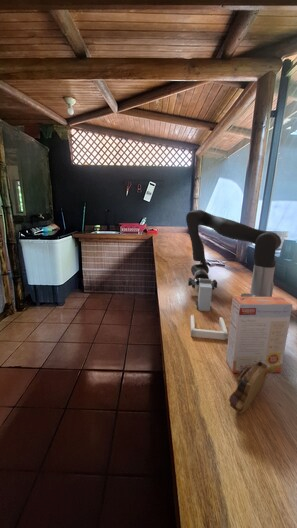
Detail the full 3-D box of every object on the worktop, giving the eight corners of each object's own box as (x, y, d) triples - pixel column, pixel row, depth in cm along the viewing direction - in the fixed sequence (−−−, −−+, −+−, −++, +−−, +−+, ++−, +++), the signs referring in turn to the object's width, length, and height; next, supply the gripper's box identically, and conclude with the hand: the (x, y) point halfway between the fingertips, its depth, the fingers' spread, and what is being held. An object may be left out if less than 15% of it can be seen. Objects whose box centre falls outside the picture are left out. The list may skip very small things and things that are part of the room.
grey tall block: (209, 304, 110) (212, 279, 107) (211, 311, 104) (213, 284, 100) (196, 303, 111) (198, 278, 108) (197, 310, 104) (199, 283, 101)
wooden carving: (248, 379, 63) (253, 346, 61) (266, 387, 61) (272, 353, 58) (222, 419, 51) (227, 380, 49) (243, 432, 48) (250, 391, 46)
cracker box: (269, 360, 72) (281, 295, 66) (281, 373, 66) (294, 304, 61) (224, 359, 71) (232, 295, 66) (231, 373, 65) (241, 303, 60)
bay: (222, 323, 93) (222, 317, 92) (227, 340, 82) (227, 333, 81) (190, 320, 95) (190, 314, 94) (190, 336, 83) (191, 330, 83)
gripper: (188, 270, 129) (188, 279, 114) (215, 271, 127) (219, 281, 112) (187, 283, 131) (187, 293, 116) (214, 285, 129) (217, 296, 114)
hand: (203, 287), depth 114 cm, fingers open, 8 cm apart
